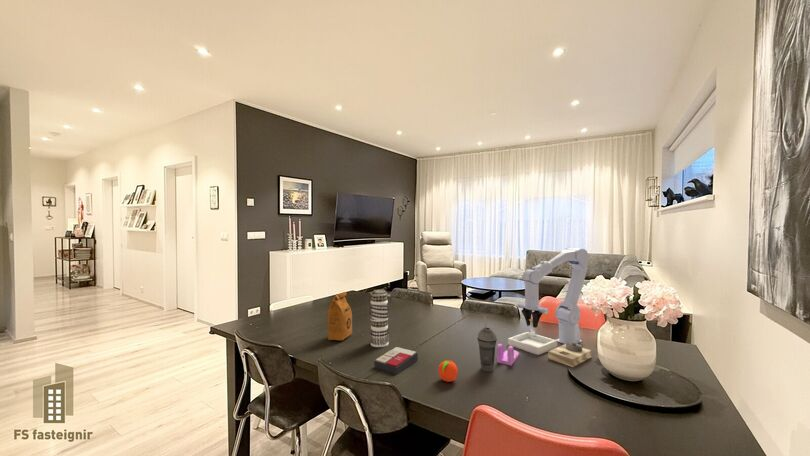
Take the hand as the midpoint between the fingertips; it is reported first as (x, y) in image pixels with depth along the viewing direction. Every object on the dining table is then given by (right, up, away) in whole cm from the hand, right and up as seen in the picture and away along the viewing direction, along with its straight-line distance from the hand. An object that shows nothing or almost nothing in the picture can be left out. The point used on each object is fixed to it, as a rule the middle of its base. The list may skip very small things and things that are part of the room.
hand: (532, 326), depth 147 cm
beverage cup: (-26, -10, -23) cm, 36 cm away
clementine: (-43, -10, -32) cm, 54 cm away
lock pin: (0, -5, -1) cm, 5 cm away
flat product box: (-61, -10, -17) cm, 64 cm away
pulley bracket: (+10, -9, -14) cm, 19 cm away
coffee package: (-90, -10, +14) cm, 91 cm away
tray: (0, -9, 0) cm, 9 cm away
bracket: (-15, -10, -13) cm, 22 cm away
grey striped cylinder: (-70, -10, +5) cm, 71 cm away
